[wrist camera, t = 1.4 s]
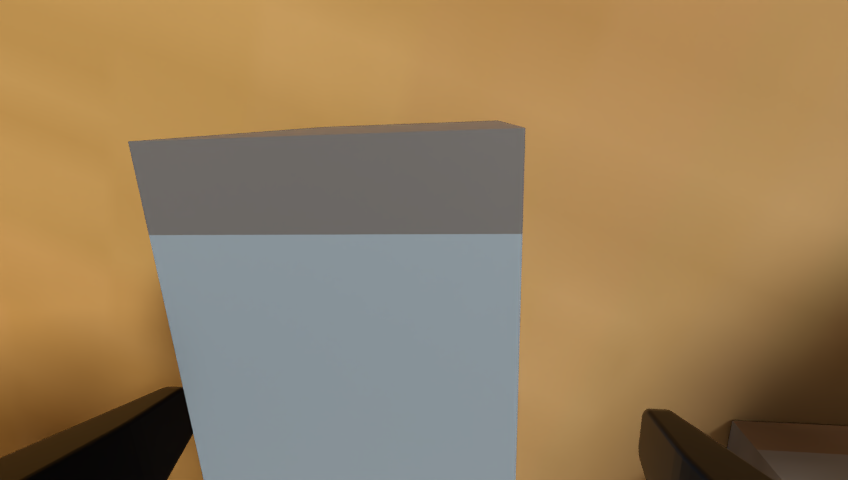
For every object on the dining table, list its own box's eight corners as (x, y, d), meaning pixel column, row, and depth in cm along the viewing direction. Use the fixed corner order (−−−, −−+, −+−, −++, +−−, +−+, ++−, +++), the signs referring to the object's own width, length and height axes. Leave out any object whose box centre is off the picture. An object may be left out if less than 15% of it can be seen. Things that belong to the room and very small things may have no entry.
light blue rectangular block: (497, 120, 10) (525, 127, 4) (493, 505, 13) (505, 827, 7) (326, 127, 10) (129, 142, 4) (362, 495, 13) (272, 788, 7)
